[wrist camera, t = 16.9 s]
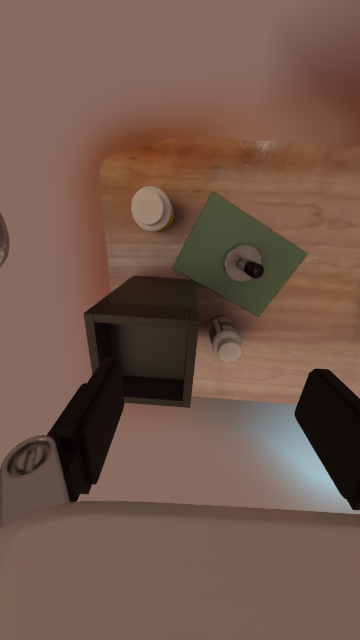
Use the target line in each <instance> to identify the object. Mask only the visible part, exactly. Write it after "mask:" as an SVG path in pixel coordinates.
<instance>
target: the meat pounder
mask: <svg viewBox="0 0 360 640" xmlns="http://www.w3.org/2000/svg"><path fill="white" fill-rule="evenodd" d="M261 262H262V261H261V255H260V253H259V252H258V250H257V249H256V248H254V247H253V246H250V245H245V244H236V245H233V246H232V247H230V248H229V249H228V250H227V251H226V252H225V254H224V256H223V259H222V267H223V270H224V271H225V273H226V274H227V275H228V276H229V277H230V278H231V279H233V280H235V281H238V282H244V281H248V280H250V279H252V278H253V279H258V278H260V277H262V276H263V274H264V267H263V266H262V265H261Z"/></svg>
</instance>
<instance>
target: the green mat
mask: <svg viewBox="0 0 360 640" xmlns="http://www.w3.org/2000/svg"><path fill="white" fill-rule="evenodd" d="M236 244H245V245H250V246H253V247H254V248H256V249H257V250H258V252H259V253H260V255H261V261H262V262H261V265H262V266H263V267H264V274H263V276H262V277H260V278H258V279H253V278H252V279H250V280H248V281H244V282H238V281H235V280H233V279H231V278H230V277H229V276H228V275H227V274H226V273H225V271H224V270H223V267H222V259H223V256H224V254H225V252H226V251H227V250H228V249H229V248H230V247H232V246H233V245H236ZM306 256H307V253H305V252H304V251H302V250H301V249H299V248H298V247H296V246H295V245H293V244H292V243H290V242H289V241H287V240H286V239H284V238H283V237H281V236H279V235H278V234H276V233H275V232H273V231H272V230H270V229H269V228H267V227H266V226H264V225H263V224H261V223H260V222H258V221H257V220H255V219H254V218H252V217H251V216H249V215H248V214H246V213H245V212H243V211H242V210H240V209H239V208H237V207H235V206H234V205H232V204H231V203H229V202H228V201H226V200H225V199H223V198H222V197H220V196H219V195H217V194H216V193H214V192H212V193H211V195H210V197H209V199H208V201H207V203H206V205H205V207H204V208H203V210H202V212H201V214H200V216H199V218H198V220H197V222H196V224H195V226H194V227H193V229H192V231H191V233H190V235H189V237H188V239H187V241H186V243H185V245H184V247H183V248H182V250H181V252H180V254H179V256H178V258H177V260H176V262H175V264H174V266H173V267H172V268H173V269H175V270H177V271H178V272H180V273H182V274H184V275H185V276H187V277H189V278H191V279H192V280H194V281H196V282H198V283H199V284H201V285H203V286H205V287H207V288H208V289H210V290H212V291H214V292H215V293H217V294H219V295H221V296H222V297H224V298H226V299H228V300H230V301H231V302H233V303H235V304H237V305H238V306H240V307H242V308H244V309H245V310H247V311H249V312H251V313H252V314H254V315H256V316H258V317H259V316H260V315H261V313H262V312H263V311H264V309H265V308H266V307H267V306H268V304H269V303H270V302H271V300H272V299H273V298H274V297H275V295H276V294H277V293H278V291H279V290H280V289H281V288H282V286H283V285H284V284H285V282H286V281H287V280H288V279H289V277H290V276H291V275H292V273H293V272H294V271H295V270H296V268H297V267H298V266H299V265H300V263H301V262H302V261H303V259H304V258H305V257H306Z"/></svg>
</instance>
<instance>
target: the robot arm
mask: <svg viewBox="0 0 360 640" xmlns="http://www.w3.org/2000/svg"><path fill="white" fill-rule="evenodd" d="M123 408H124V391H123V379H122V367H121V361H118V359H117V358H116V357H104V358H103V360H102V361H101V363H100V364H99V366H98V367H97V369H96V370H95V372H94V373H93V375H92V377H91V378H90V380H89V381H88V383H84V384H82V385H81V386H80V388H79V389H78V390H77V392H76V393H75V395H74V396H73V398H72V399H71V401H70V402H69V404H68V405H67V407H66V408H65V410H64V411H63V412H62V414H61V415H60V417H59V418H58V420H57V421H56V422H55V424H54V425H53V427H52V428H51V430H50V431H49V433H48V434H47V436H45V435H41V436H35V437H32V438H29V439H27V440H25V441H23V442H22V443H20V444H19V445H17V446H16V447H15V448H14V449H12V450H11V452H10V453H9V454H8V455H7V456H6V457H5V459H4V461H3V463H2V466H1V469H0V640H360V514H344V513H328V512H314V511H296V510H281V509H264V508H247V507H230V506H211V505H192V504H174V503H154V502H127V501H126V502H125V501H80V502H76V501H77V500H78V497H79V495H80V494H89V491H90V489H91V485H92V484H96V483H97V481H98V479H99V476H100V473H101V470H102V467H103V465H104V462H105V459H106V456H107V453H108V451H109V448H110V445H111V442H112V439H113V437H114V433H115V431H116V428H117V425H118V422H119V420H120V417H121V414H122V411H123ZM295 417H296V420H297V422H298V423H299V425H300V427H301V428H302V430H303V431H304V433H305V435H306V437H307V438H308V440H309V442H310V443H311V445H312V447H313V448H314V450H315V452H316V453H317V455H318V457H319V459H320V460H321V462H322V464H323V465H324V467H325V469H326V470H327V472H328V474H329V475H330V477H331V479H332V480H333V482H334V484H335V486H336V487H337V489H338V491H339V492H340V494H341V495H342V496H343V497H344V498H345V499H347V501H348V502H349V504H350V506H351V507H352V509H353V510H360V399H359V398H358V397H357V396H356V395H355V394H354V393H353V392H352V391H351V390H350V389H349V388H348V387H347V386H346V385H345V384H344V383H343V382H342V381H341V380H339V379H338V378H337V377H336V376H335V375H334V374H333V373H332V372H331V371H330V370H327V369H314V370H313V371H312V372H310V373H309V375H308V378H307V380H306V383H305V386H304V388H303V391H302V394H301V396H300V399H299V402H298V404H297V407H296V410H295Z"/></svg>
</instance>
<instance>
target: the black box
mask: <svg viewBox="0 0 360 640" xmlns="http://www.w3.org/2000/svg"><path fill="white" fill-rule="evenodd" d="M84 319H85V325H86V332H87V340H88V346H89V353H90V361H91V367H92V374H93V373H94V372H95V370H96V369H97V367H98V366H99V364H100V363H101V361H102V360H103V358H104V357H116V358H117V359H118V361H121V367H122V379H123V391H124V403H136V404H150V405H162V406H176V407H189V408H190V404H191V394H192V384H193V375H194V365H195V356H196V346H197V336H198V327H199V317H198V308H197V300H196V292H195V283H194V280H185V279H170V278H155V277H140V276H132V277H131V278H130V279H129V280H127V281H126V282H125V283H123V284H122V285H121V286H119V287H118V288H117V289H115V290H114V291H113V292H111V293H110V294H109V295H107V296H106V297H105V298H103V299H102V300H101V301H100V302H98V303H97V304H95V306H93V307H92V308H90V309H89V310H88V311H86V312H85V313H84Z"/></svg>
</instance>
